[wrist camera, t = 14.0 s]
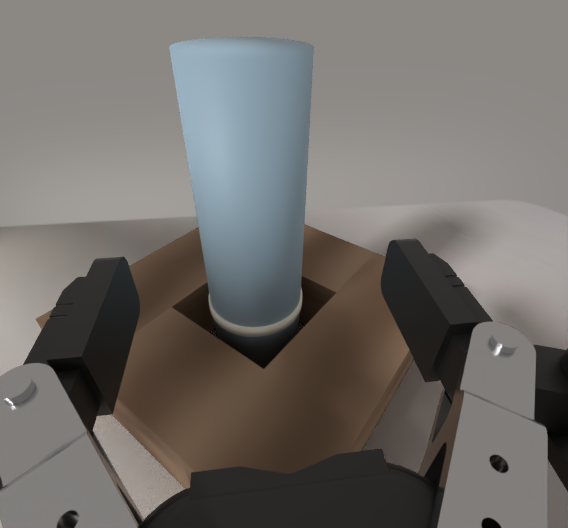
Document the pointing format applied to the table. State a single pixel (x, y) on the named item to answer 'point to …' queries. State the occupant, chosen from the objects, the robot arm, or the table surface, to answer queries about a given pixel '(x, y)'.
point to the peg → (248, 180)
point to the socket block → (251, 377)
